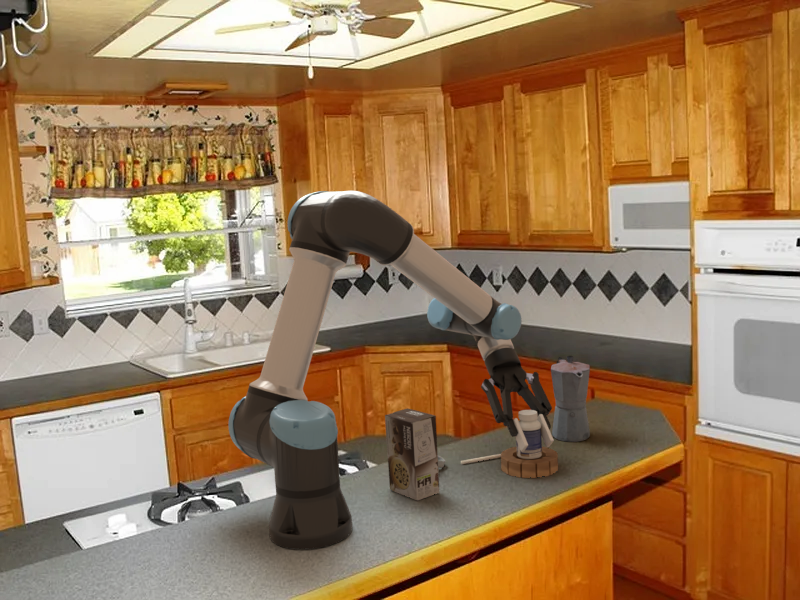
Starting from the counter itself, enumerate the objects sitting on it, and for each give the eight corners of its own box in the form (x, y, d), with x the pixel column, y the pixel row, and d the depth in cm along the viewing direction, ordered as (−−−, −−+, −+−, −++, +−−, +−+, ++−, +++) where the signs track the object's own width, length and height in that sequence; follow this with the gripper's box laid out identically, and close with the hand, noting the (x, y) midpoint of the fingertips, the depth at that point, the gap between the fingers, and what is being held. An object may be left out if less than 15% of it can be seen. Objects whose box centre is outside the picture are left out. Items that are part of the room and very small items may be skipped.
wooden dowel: (462, 464, 183) (462, 461, 183) (460, 463, 183) (460, 460, 183) (526, 453, 188) (526, 450, 188) (525, 452, 189) (525, 449, 189)
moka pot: (564, 448, 190) (562, 362, 188) (538, 429, 205) (536, 350, 202) (602, 442, 193) (601, 358, 190) (573, 424, 207) (572, 346, 205)
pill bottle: (547, 456, 177) (546, 412, 176) (527, 461, 175) (526, 417, 173) (531, 450, 182) (529, 407, 181) (511, 455, 179) (510, 411, 178)
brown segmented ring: (517, 481, 171) (517, 467, 171) (492, 464, 182) (491, 450, 182) (568, 471, 175) (568, 458, 175) (540, 455, 186) (540, 442, 186)
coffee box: (441, 492, 167) (437, 415, 165) (416, 501, 163) (412, 422, 161) (412, 481, 174) (408, 407, 172) (388, 489, 170) (383, 413, 168)
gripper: (530, 359, 193) (569, 447, 180) (457, 369, 187) (492, 461, 174) (540, 341, 187) (581, 430, 175) (466, 351, 181) (503, 444, 169)
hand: (537, 445), depth 174 cm, fingers closed on pill bottle, 5 cm apart
